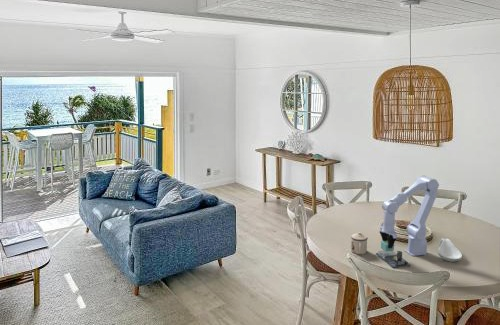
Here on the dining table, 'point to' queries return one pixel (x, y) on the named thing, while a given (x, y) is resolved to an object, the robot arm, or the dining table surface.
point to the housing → (386, 246)
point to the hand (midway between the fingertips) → (387, 245)
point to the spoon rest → (448, 251)
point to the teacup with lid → (359, 243)
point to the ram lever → (399, 258)
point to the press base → (390, 258)
